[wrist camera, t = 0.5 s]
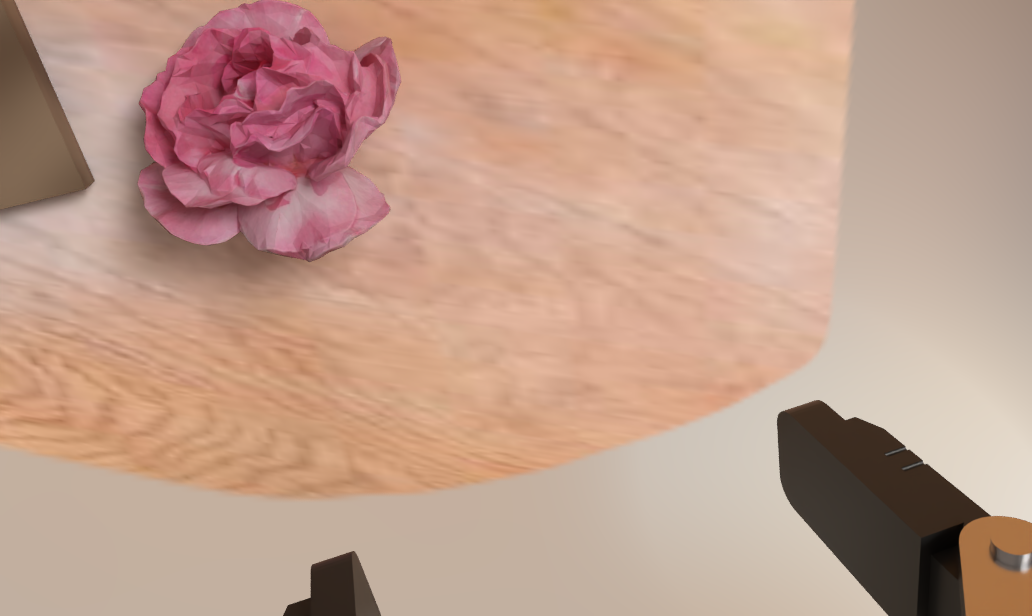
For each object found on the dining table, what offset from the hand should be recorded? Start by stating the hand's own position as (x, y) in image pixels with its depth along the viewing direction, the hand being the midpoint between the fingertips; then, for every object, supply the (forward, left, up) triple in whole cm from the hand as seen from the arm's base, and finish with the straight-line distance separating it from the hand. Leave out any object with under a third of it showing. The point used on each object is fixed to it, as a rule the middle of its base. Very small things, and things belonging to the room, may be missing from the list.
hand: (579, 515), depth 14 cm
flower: (-5, -5, -27) cm, 28 cm away
